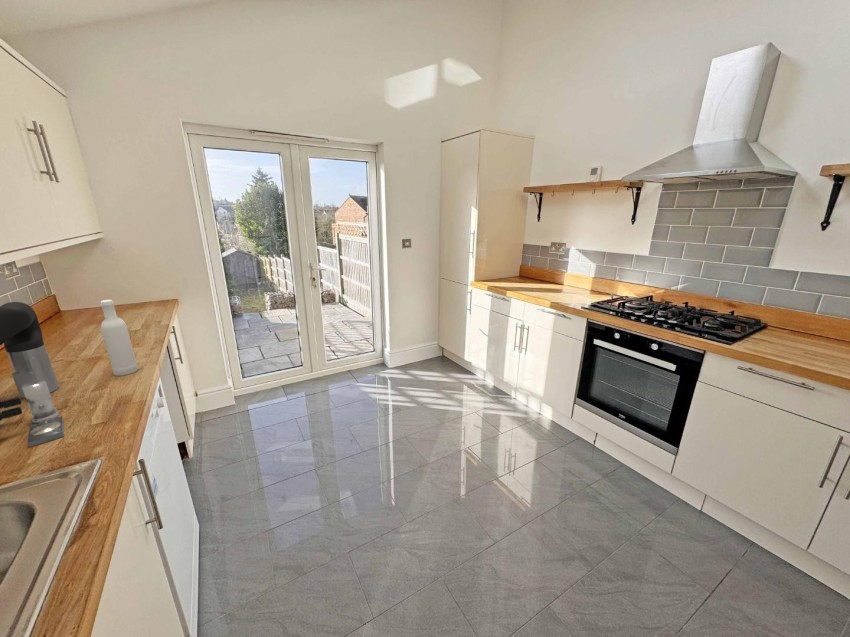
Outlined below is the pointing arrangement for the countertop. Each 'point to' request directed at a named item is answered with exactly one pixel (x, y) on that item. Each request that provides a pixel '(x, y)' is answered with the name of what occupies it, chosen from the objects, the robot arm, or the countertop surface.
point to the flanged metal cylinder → (39, 401)
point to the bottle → (117, 341)
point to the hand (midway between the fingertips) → (21, 405)
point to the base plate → (46, 431)
